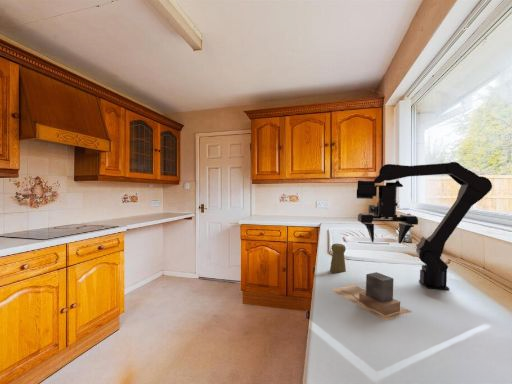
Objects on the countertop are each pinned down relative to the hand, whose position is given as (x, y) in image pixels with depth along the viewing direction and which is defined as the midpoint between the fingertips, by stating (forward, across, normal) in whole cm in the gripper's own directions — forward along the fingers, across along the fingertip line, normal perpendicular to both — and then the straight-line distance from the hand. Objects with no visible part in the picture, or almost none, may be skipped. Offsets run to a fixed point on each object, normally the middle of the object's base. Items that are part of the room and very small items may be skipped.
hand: (385, 242), depth 90 cm
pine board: (+13, +12, +22) cm, 28 cm away
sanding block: (+12, +10, +26) cm, 31 cm away
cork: (+13, +16, -3) cm, 21 cm away
